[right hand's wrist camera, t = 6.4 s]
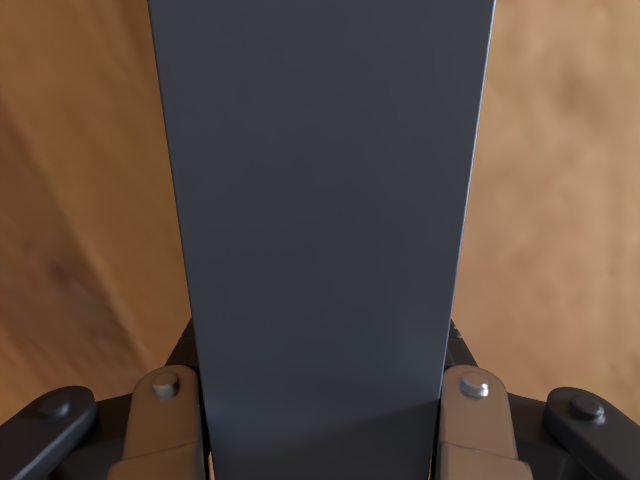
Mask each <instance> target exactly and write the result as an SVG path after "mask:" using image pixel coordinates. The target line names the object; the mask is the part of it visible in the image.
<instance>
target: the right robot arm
mask: <svg viewBox="0 0 640 480" xmlns="http://www.w3.org/2000/svg"><path fill="white" fill-rule="evenodd" d="M210 451H211V448H210V441H209V434H208V427H207V420H206V413H205V406H204V399H203V392H202V385H201V378H200V371H199V364H198V356H197V349H196V342H195V335H194V328H193V321H192V317H191V319H190V321H189V323H188V325H187V328H185V330H184V332H183V334H182V337H180V339H179V341H178V343H177V344H176V346H175V348H174V350H173V352H172V353H171V355H170V357H169V359H168V360H167V362H166V364H165V366H164V367H161V368H158V369H156V370H153V371H151V372H150V373H148V374H146V375H145V376H144V377H142V378H141V379H140V380H139V381H138V383H137V384H136V386H135V387H134V390H133V393H130V394H127V395H124V396H119V397H115V398H111V399H106V400H102V401H98V402H95V399H94V395H93V393H92V391H91V390H90V389H88V388H86V387H83V386H67V387H62V388H59V389H55V390H53V391H50V392H48V393H46V394H44V395H42V396H40V397H38V398H37V399H35V400H34V401H32V402H31V403H30V404H28V405H27V406H26V407H25V408H23V409H22V410H21V411H19V412H18V413H17V414H15V415H14V416H13V417H12V418H10V419H9V420H8V421H6V422H5V423H4V424H3V425H1V426H0V480H211V472H210V461H209V454H210ZM429 480H640V426H639V425H637V424H636V423H635V422H634V421H632V420H631V419H630V418H628V417H627V416H626V415H625V414H623V413H622V412H621V411H619V410H618V409H617V408H615V407H614V406H613V405H612V404H610V403H609V402H607V401H606V400H605V399H603V398H601V397H599V396H597V395H595V394H593V393H591V392H588V391H585V390H582V389H578V388H573V387H560V388H556V389H554V390H552V391H551V392H550V393H549V395H548V398H547V402H543V401H538V400H534V399H530V398H525V397H521V396H517V395H514V394H511V393H508V392H507V390H506V387H505V386H504V384H503V383H502V381H501V380H500V379H499V378H498V377H496V376H495V375H494V374H492V373H490V372H489V371H487V370H484V369H482V368H479V367H478V365H477V363H476V362H475V360H474V358H473V356H472V354H471V353H470V351H469V349H468V347H467V346H466V344H465V342H464V340H463V339H462V338H461V335H460V333H459V332H458V330H457V329H456V326H455V324H454V323H453V321H452V319H451V321H450V328H449V335H448V342H447V349H446V356H445V363H444V370H443V377H442V384H441V391H440V398H439V405H438V412H437V419H436V426H435V434H434V441H433V448H432V455H431V462H430V472H429Z"/></svg>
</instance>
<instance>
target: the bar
mask: <svg viewBox="0 0 640 480" xmlns="http://www.w3.org/2000/svg"><path fill="white" fill-rule="evenodd" d="M147 3H148V10H149V17H150V24H151V31H152V38H153V45H154V52H155V59H156V66H157V73H158V81H159V88H160V95H161V102H162V109H163V116H164V123H165V130H166V137H167V144H168V151H169V158H170V165H171V172H172V180H173V187H174V194H175V201H176V208H177V215H178V222H179V229H180V236H181V243H182V250H183V257H184V264H185V272H186V279H187V286H188V293H189V300H190V307H191V314H192V321H193V328H194V335H195V342H196V349H197V356H198V364H199V371H200V378H201V385H202V392H203V399H204V406H205V413H206V420H207V427H208V434H209V441H210V448H211V456H212V463H213V470H214V477H215V480H428V476H429V469H430V462H431V455H432V448H433V441H434V434H435V426H436V419H437V412H438V405H439V398H440V391H441V384H442V377H443V370H444V363H445V356H446V349H447V342H448V335H449V328H450V321H451V314H452V306H453V299H454V292H455V285H456V278H457V271H458V264H459V257H460V250H461V243H462V236H463V229H464V222H465V215H466V208H467V201H468V194H469V187H470V179H471V172H472V165H473V158H474V151H475V144H476V137H477V130H478V123H479V116H480V109H481V102H482V95H483V88H484V81H485V74H486V67H487V59H488V52H489V45H490V38H491V31H492V24H493V17H494V10H495V3H496V0H147Z"/></svg>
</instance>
